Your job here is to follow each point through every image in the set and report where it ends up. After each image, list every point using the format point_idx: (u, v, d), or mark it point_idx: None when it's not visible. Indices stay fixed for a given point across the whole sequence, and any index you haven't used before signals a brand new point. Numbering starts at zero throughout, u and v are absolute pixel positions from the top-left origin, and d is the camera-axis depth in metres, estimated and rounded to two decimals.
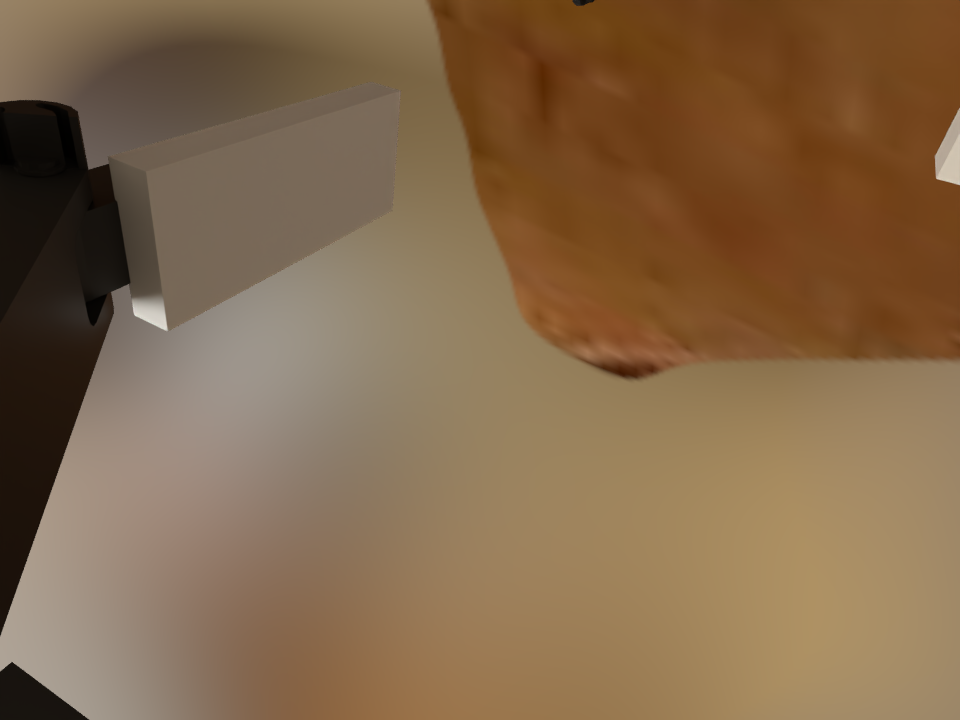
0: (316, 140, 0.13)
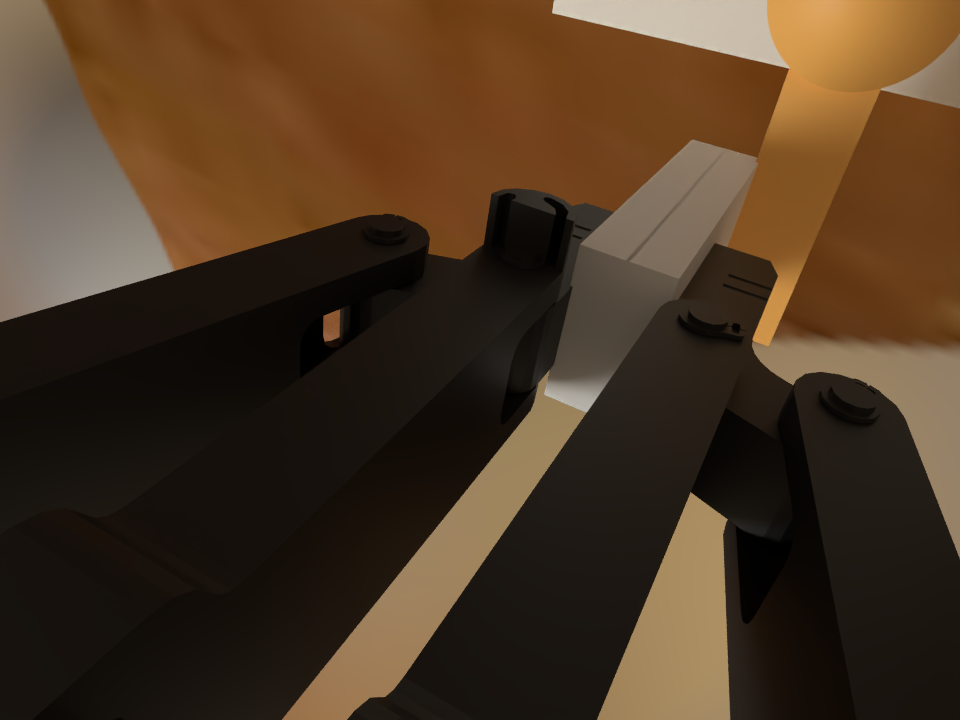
0: None
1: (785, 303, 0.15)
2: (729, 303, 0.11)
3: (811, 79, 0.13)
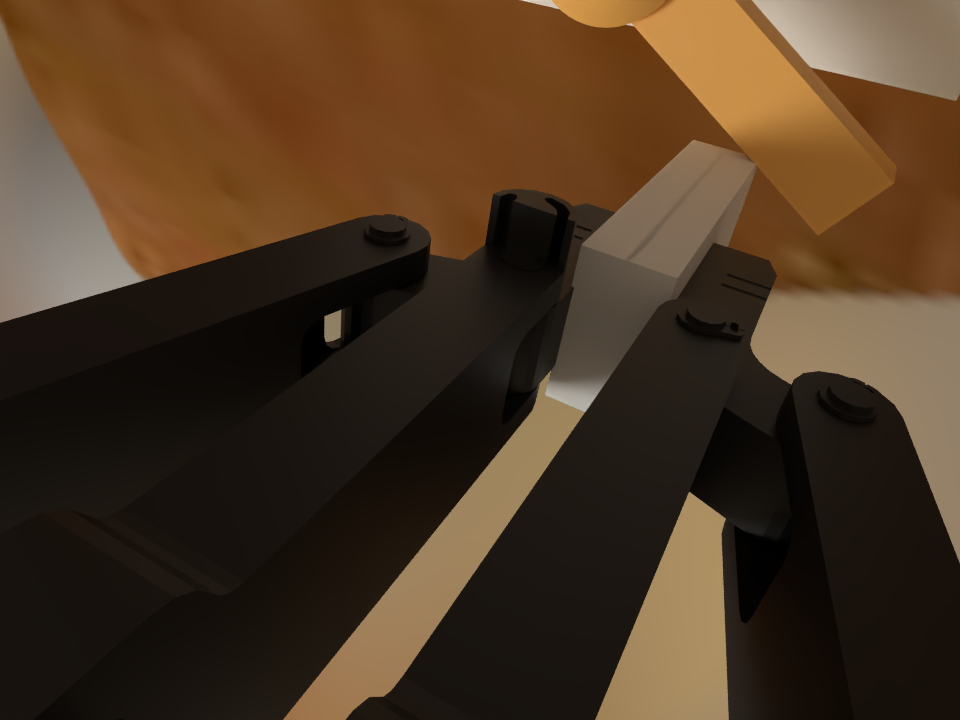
0: None
1: (853, 139, 0.13)
2: (727, 303, 0.11)
3: (648, 10, 0.14)
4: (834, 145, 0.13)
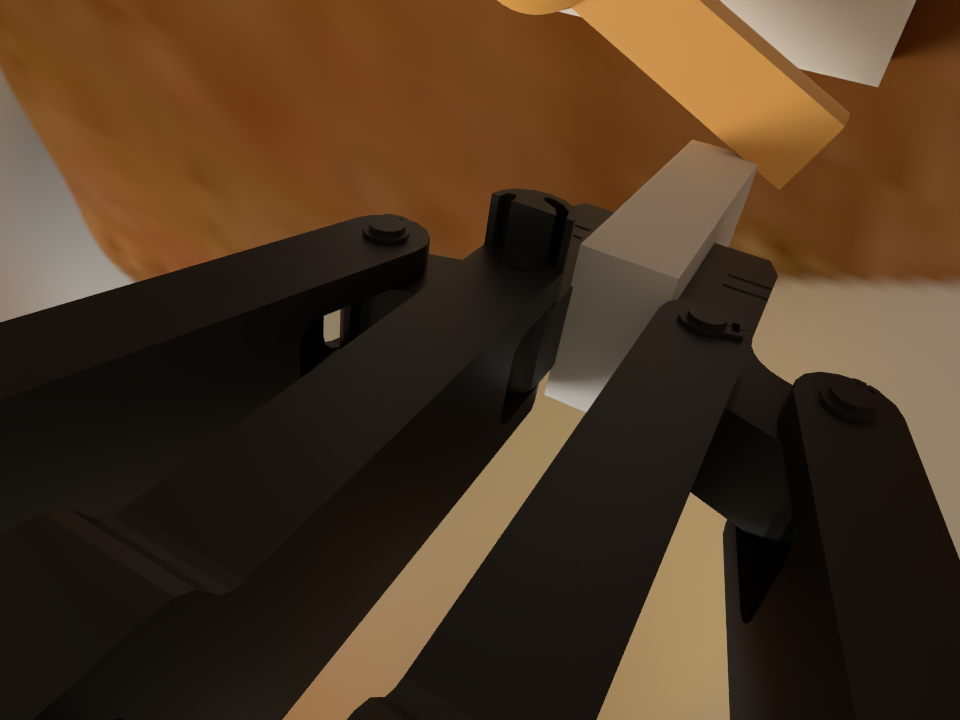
0: None
1: (797, 88, 0.13)
2: (729, 303, 0.11)
3: None
4: (780, 97, 0.14)
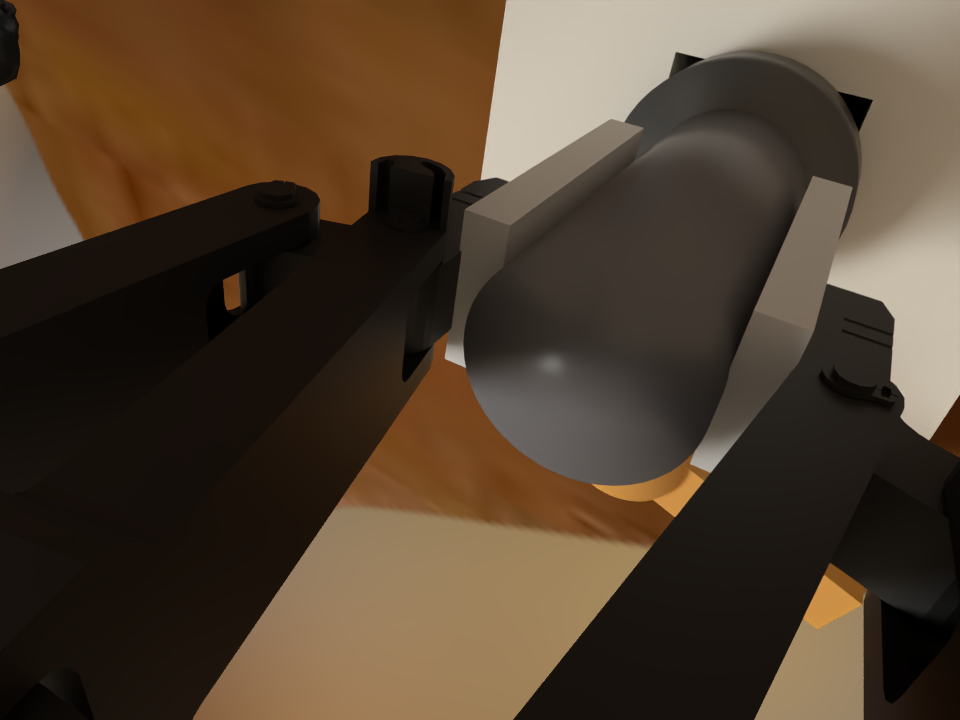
0: (594, 182, 0.13)
1: (825, 577, 0.18)
2: (853, 352, 0.10)
3: (660, 495, 0.19)
4: None
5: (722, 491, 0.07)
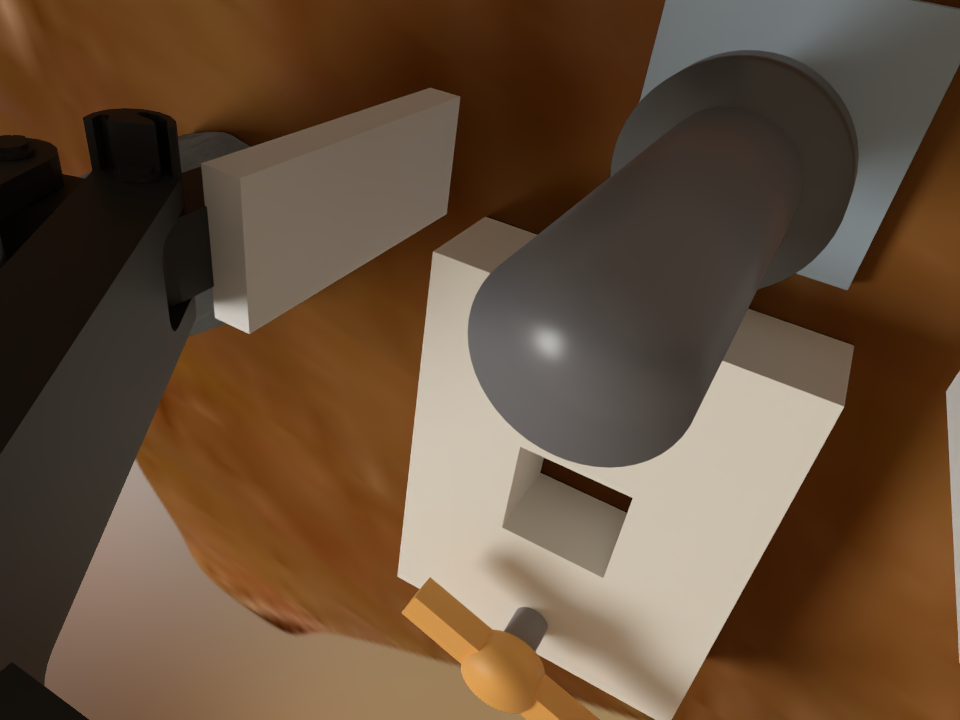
0: (386, 146, 0.13)
1: None
2: None
3: (520, 712, 0.30)
4: None
5: None
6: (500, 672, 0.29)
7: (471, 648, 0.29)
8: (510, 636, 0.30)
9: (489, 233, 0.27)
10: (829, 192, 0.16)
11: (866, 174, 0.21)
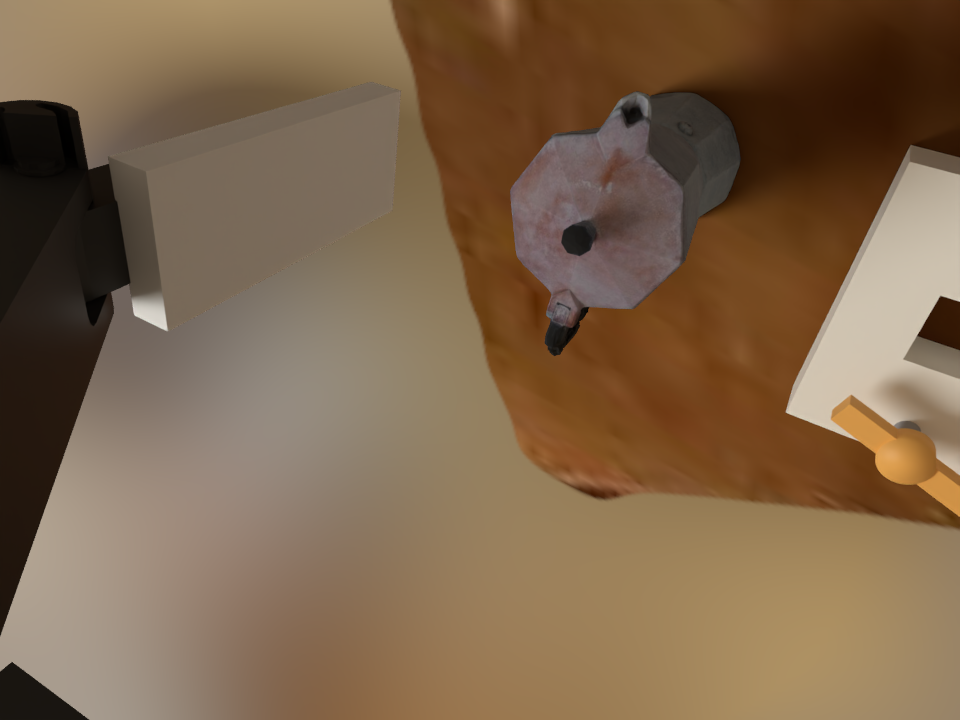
0: (316, 140, 0.13)
1: None
2: None
3: (921, 481, 0.44)
4: None
5: None
6: (914, 451, 0.43)
7: (889, 438, 0.44)
8: (914, 430, 0.44)
9: (925, 153, 0.41)
10: None
11: None
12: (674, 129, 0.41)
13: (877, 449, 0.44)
